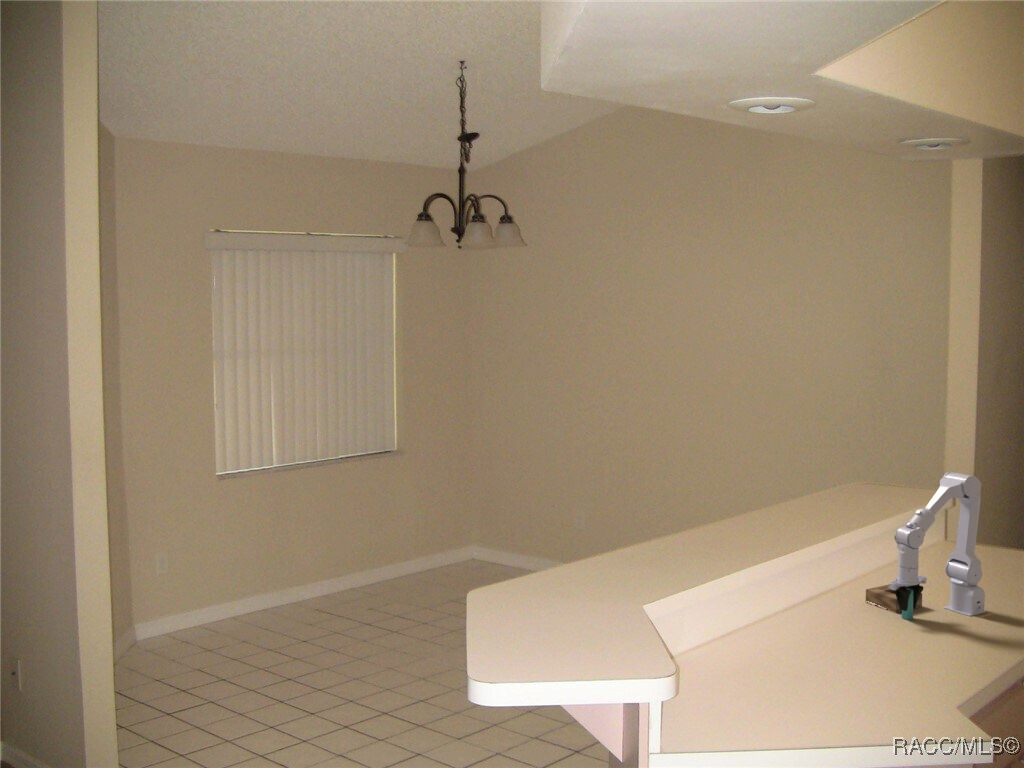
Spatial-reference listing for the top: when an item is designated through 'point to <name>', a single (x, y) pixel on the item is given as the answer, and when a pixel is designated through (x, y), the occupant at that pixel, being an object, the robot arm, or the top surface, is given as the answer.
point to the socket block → (886, 598)
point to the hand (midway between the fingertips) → (907, 609)
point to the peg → (909, 608)
